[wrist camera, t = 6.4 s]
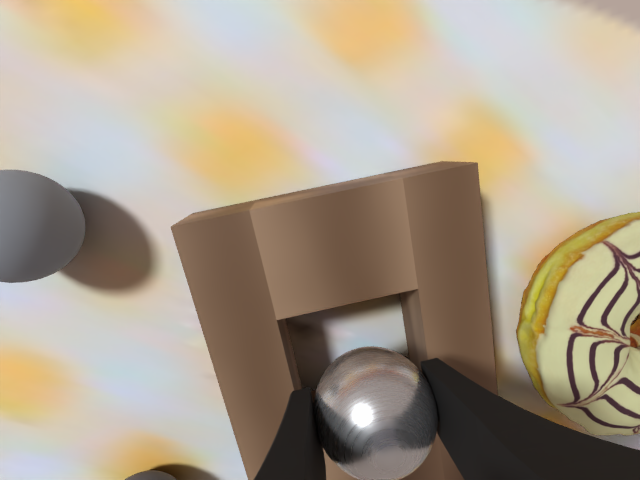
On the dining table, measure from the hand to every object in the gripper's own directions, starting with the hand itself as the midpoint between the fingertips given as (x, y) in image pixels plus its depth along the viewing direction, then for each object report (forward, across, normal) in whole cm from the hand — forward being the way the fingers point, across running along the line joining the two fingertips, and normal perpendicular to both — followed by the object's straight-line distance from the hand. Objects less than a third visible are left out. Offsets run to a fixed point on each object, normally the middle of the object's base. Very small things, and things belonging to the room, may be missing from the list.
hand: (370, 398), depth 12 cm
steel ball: (-1, 0, 0) cm, 1 cm away
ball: (+3, +11, -8) cm, 14 cm away
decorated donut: (+5, -13, +2) cm, 14 cm away
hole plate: (+5, 0, 0) cm, 5 cm away
